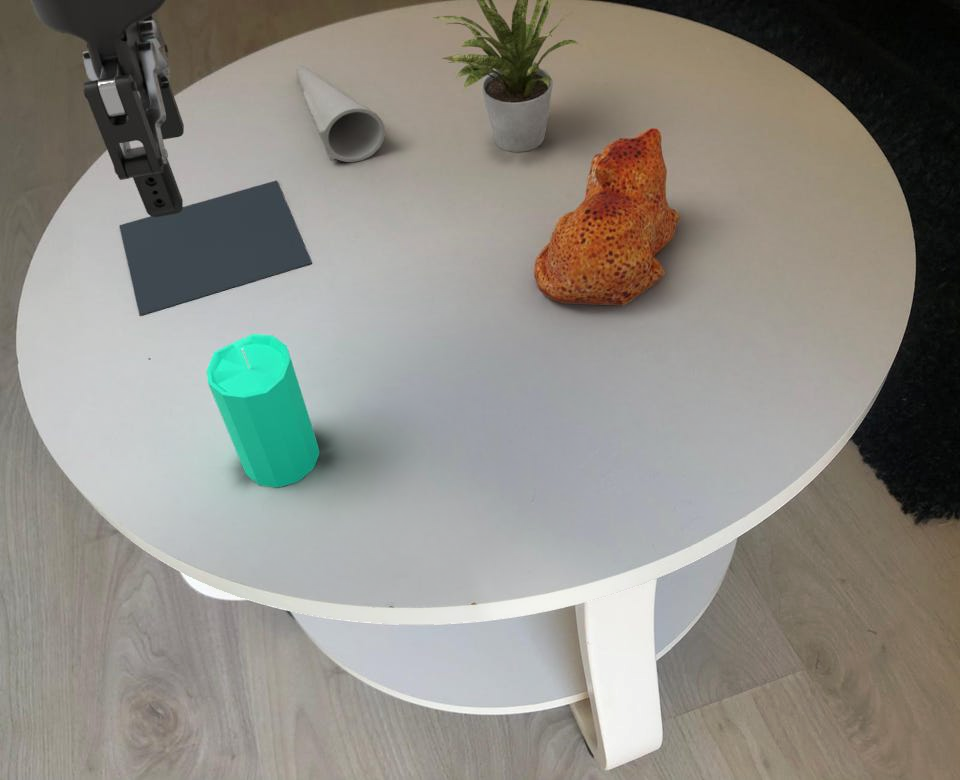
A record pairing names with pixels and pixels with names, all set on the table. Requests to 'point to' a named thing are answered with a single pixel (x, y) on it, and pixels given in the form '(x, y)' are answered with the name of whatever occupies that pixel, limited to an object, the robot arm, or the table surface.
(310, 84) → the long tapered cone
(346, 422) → the table surface
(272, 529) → the table surface
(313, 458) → the candle
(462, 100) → the table surface
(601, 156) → the figurine
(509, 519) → the table surface
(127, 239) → the mat
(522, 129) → the house plant
